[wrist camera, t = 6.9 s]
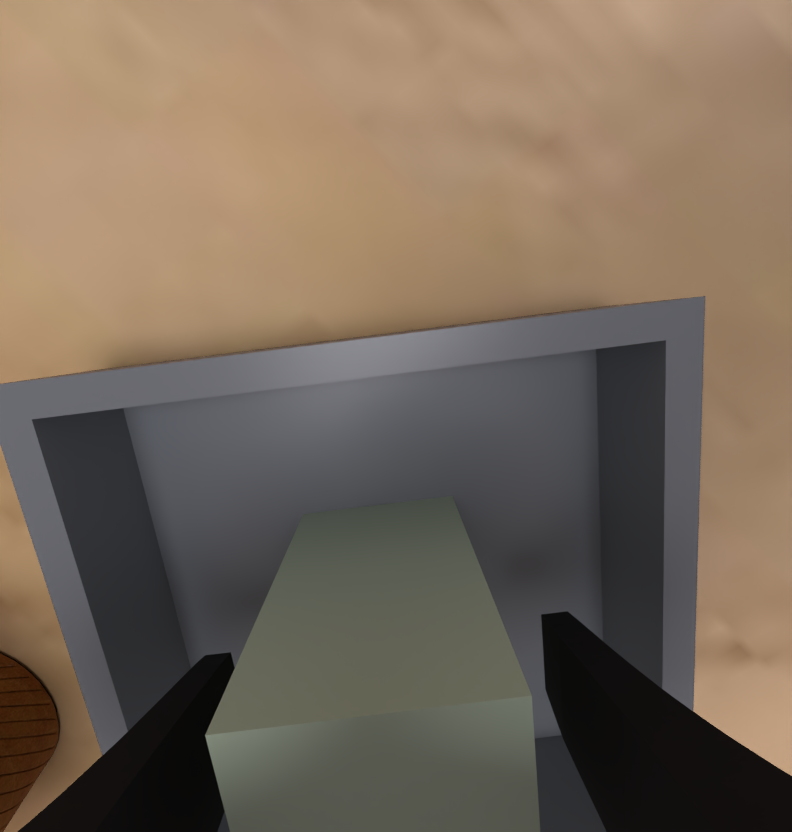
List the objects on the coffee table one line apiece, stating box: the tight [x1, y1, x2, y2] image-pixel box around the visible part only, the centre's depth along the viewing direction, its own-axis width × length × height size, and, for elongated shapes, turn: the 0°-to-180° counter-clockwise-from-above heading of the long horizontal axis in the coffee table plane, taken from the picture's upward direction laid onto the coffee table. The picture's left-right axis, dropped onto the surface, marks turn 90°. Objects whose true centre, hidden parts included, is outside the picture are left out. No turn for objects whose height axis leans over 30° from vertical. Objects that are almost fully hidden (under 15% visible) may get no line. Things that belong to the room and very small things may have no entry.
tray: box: [0, 296, 705, 832], centre depth 12 cm, size 15×15×4 cm
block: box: [205, 496, 540, 832], centre depth 10 cm, size 4×4×7 cm
